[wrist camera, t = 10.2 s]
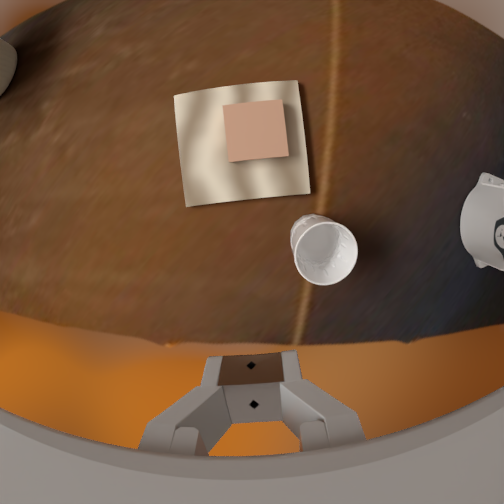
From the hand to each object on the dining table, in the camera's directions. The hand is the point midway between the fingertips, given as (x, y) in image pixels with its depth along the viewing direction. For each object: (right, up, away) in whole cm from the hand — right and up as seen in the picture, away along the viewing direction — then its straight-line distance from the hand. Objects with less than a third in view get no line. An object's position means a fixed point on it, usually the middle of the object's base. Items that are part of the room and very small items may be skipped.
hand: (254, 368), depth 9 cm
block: (-4, +20, +27) cm, 34 cm away
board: (-2, +20, +30) cm, 36 cm away
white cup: (+9, +7, +34) cm, 35 cm away
